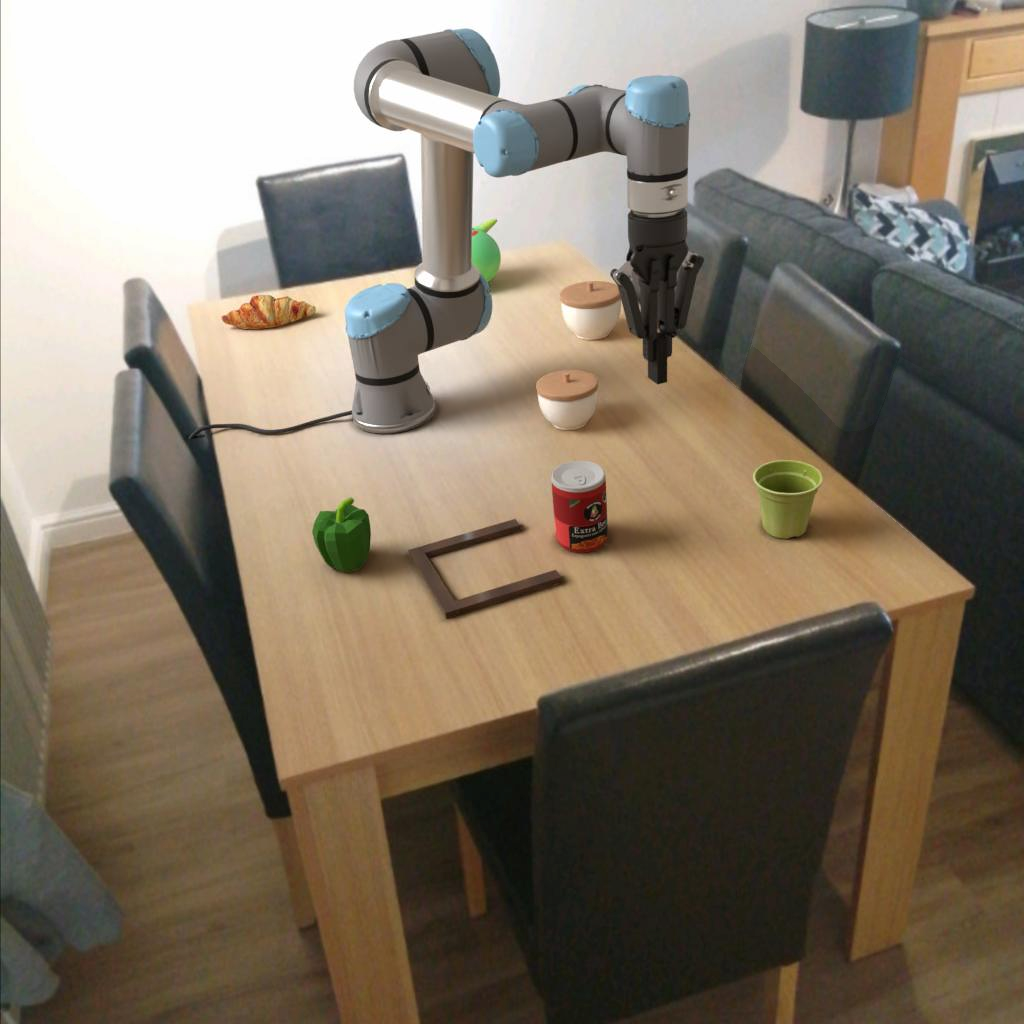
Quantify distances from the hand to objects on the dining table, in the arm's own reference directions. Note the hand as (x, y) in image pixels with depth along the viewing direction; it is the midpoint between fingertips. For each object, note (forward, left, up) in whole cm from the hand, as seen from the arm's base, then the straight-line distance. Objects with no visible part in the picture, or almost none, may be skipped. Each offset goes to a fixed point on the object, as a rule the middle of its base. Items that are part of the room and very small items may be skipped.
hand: (657, 379), depth 144 cm
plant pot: (+18, -2, -23) cm, 29 cm away
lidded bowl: (-19, +70, -22) cm, 76 cm away
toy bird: (-53, +99, -22) cm, 114 cm away
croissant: (-94, +77, -23) cm, 123 cm away
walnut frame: (-23, -15, -22) cm, 35 cm away
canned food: (-11, -7, -23) cm, 26 cm away
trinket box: (-18, +30, -23) cm, 41 cm away
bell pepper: (-44, -15, -23) cm, 52 cm away
